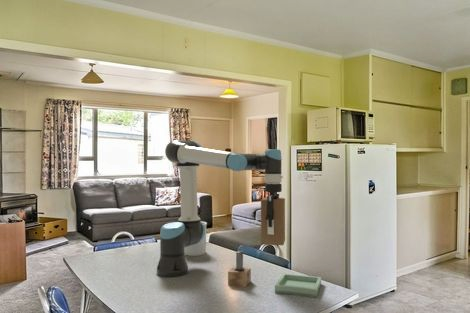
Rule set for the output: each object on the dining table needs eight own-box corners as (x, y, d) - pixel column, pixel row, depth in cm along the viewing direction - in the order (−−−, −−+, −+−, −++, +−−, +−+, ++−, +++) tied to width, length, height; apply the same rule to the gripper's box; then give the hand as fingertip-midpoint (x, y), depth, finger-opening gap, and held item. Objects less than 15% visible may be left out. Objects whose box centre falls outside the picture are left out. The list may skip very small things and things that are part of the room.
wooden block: (283, 245, 167) (283, 200, 167) (260, 244, 169) (260, 199, 169) (285, 240, 177) (284, 197, 177) (263, 239, 179) (263, 197, 179)
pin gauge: (235, 283, 168) (235, 252, 168) (237, 281, 171) (237, 250, 171) (241, 284, 167) (241, 252, 167) (243, 282, 170) (243, 251, 170)
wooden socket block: (228, 285, 167) (228, 271, 167) (233, 279, 174) (233, 266, 174) (245, 287, 164) (245, 273, 164) (250, 281, 172) (250, 268, 172)
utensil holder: (205, 256, 216) (205, 225, 216) (179, 256, 216) (179, 225, 216) (207, 249, 230) (207, 220, 231) (183, 249, 231) (183, 220, 231)
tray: (274, 292, 157) (274, 285, 157) (283, 280, 173) (283, 273, 173) (316, 297, 152) (316, 289, 152) (321, 284, 168) (321, 277, 168)
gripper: (275, 185, 161) (276, 237, 161) (286, 181, 182) (286, 227, 182) (258, 184, 163) (259, 236, 163) (270, 181, 185) (271, 227, 185)
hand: (273, 231), depth 173 cm, fingers closed on wooden block, 10 cm apart
